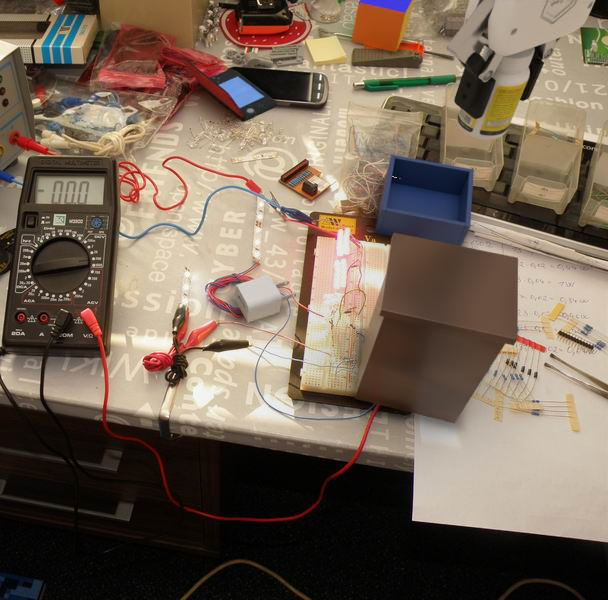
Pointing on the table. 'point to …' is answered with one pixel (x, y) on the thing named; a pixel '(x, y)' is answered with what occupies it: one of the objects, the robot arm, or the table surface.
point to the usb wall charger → (260, 297)
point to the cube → (382, 23)
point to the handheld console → (234, 92)
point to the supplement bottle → (500, 97)
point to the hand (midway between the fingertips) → (491, 99)
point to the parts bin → (426, 200)
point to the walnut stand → (437, 326)
